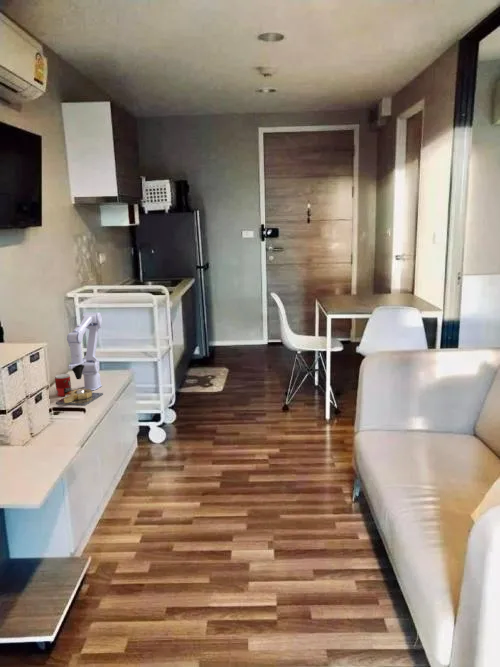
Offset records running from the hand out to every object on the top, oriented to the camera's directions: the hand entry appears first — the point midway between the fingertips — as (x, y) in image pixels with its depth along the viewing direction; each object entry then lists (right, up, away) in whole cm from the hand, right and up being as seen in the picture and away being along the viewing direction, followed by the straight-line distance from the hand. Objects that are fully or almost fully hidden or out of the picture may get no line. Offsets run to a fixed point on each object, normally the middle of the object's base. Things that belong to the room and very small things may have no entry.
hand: (78, 378), depth 274 cm
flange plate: (+2, -10, -2) cm, 11 cm away
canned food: (-10, -10, +6) cm, 15 cm away
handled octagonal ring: (+1, -10, -5) cm, 11 cm away
